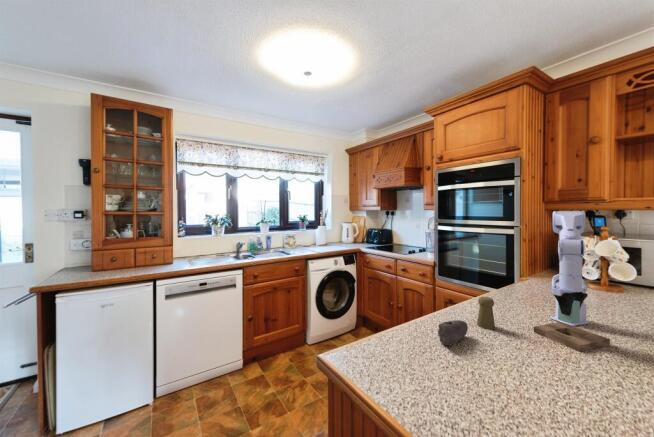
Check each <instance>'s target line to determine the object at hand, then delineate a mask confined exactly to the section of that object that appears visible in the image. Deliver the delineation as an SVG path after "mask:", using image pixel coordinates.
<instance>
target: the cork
mask: <svg viewBox="0 0 654 437" xmlns="http://www.w3.org/2000/svg"><path fill="white" fill-rule="evenodd" d="M477 302H478V303H477V304H478V305H479V308H478V315H477V320H476V326H477V327H479V328H482V329H485V330H494V329H496V323H495V317H494V308H493V307H494V305H495V301H494V299H493V298H492V297H489V296H480V297H478V300H477Z"/></svg>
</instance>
